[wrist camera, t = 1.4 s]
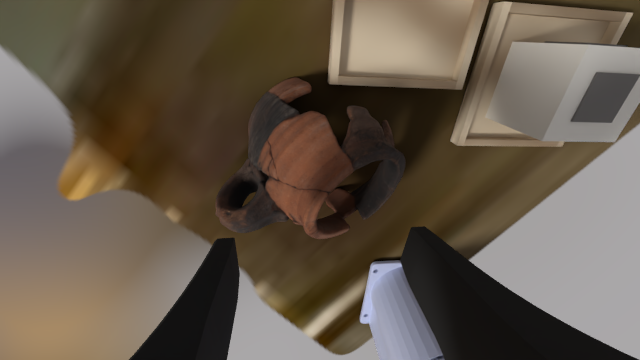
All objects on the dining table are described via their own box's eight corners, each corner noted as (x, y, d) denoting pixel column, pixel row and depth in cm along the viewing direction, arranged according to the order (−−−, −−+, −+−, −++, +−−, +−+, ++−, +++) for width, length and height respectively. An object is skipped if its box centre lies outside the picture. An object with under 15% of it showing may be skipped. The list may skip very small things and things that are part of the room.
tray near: (453, 86, 19) (461, 89, 18) (327, 81, 17) (329, 84, 17) (503, -88, 14) (517, -95, 13) (340, -110, 13) (344, -120, 12)
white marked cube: (544, 118, 20) (616, 142, 16) (485, 117, 20) (543, 141, 15) (579, 44, 18) (677, 48, 13) (513, 39, 17) (592, 42, 13)
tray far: (551, 142, 22) (562, 146, 21) (450, 140, 21) (457, 145, 20) (616, 13, 17) (633, 12, 17) (493, 3, 16) (504, 1, 15)
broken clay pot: (327, 37, 17) (422, 100, 12) (351, 133, 24) (415, 194, 20) (162, 143, 16) (197, 256, 11) (242, 208, 23) (282, 291, 19)
